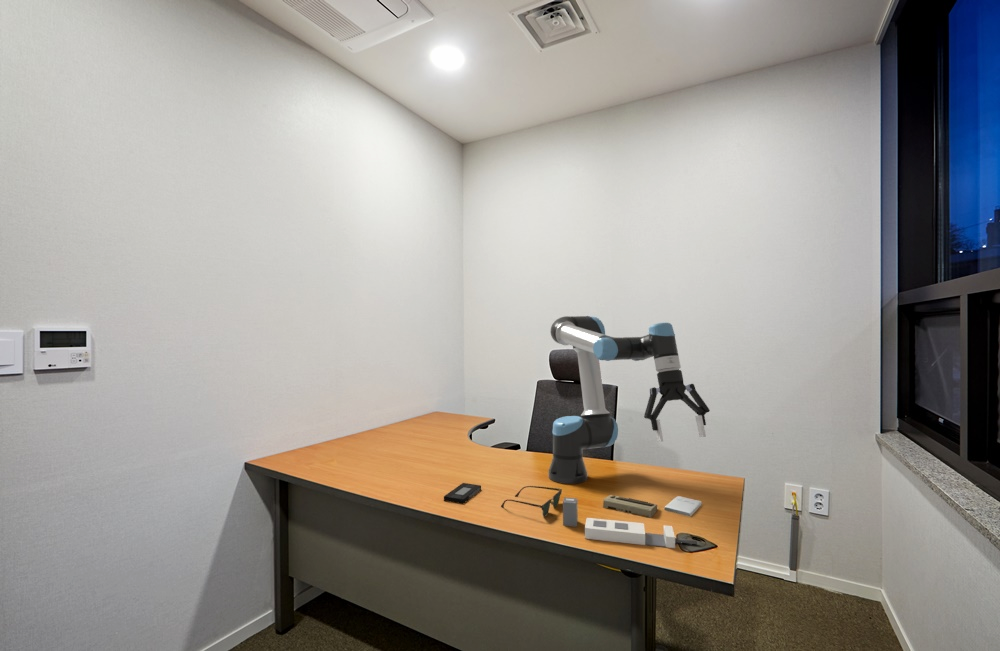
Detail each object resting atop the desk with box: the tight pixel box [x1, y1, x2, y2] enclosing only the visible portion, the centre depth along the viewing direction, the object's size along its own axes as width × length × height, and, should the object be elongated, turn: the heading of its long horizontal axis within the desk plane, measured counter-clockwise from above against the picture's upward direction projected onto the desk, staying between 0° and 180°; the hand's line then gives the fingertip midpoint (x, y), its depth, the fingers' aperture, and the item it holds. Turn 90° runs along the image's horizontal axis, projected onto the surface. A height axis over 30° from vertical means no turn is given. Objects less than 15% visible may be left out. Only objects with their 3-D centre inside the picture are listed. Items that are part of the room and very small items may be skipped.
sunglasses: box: [500, 485, 563, 518], centre depth 153 cm, size 16×17×5 cm
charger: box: [562, 497, 578, 528], centre depth 139 cm, size 4×4×7 cm
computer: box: [602, 494, 658, 519], centre depth 150 cm, size 16×8×3 cm, turn 57°
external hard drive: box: [663, 495, 702, 517], centre depth 151 cm, size 2×8×12 cm
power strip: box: [584, 517, 698, 549], centre depth 129 cm, size 7×30×3 cm, turn 76°
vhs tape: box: [443, 482, 482, 505], centre depth 163 cm, size 8×14×2 cm, turn 157°
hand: (681, 439), depth 141 cm, fingers open, 13 cm apart
